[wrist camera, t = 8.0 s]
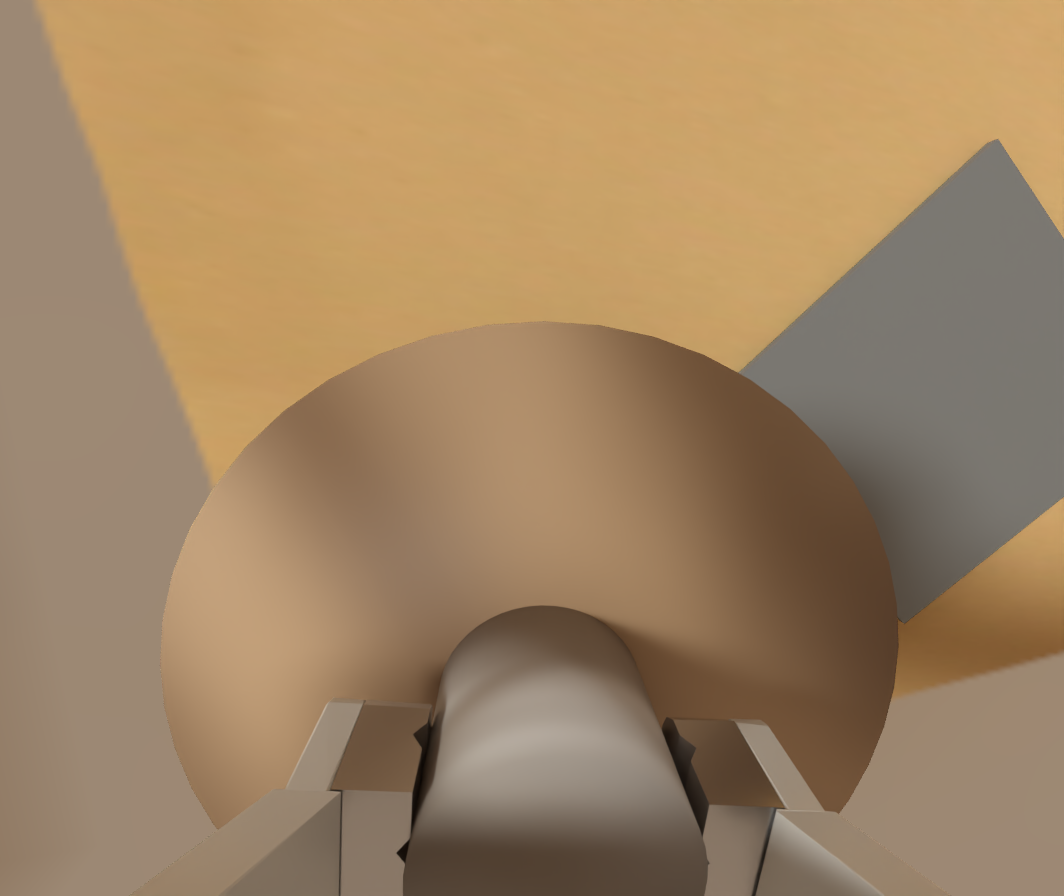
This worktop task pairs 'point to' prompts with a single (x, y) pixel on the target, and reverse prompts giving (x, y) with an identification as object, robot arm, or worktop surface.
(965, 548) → the rubber mat
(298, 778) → the robot arm
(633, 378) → the wooden lid
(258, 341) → the worktop surface
